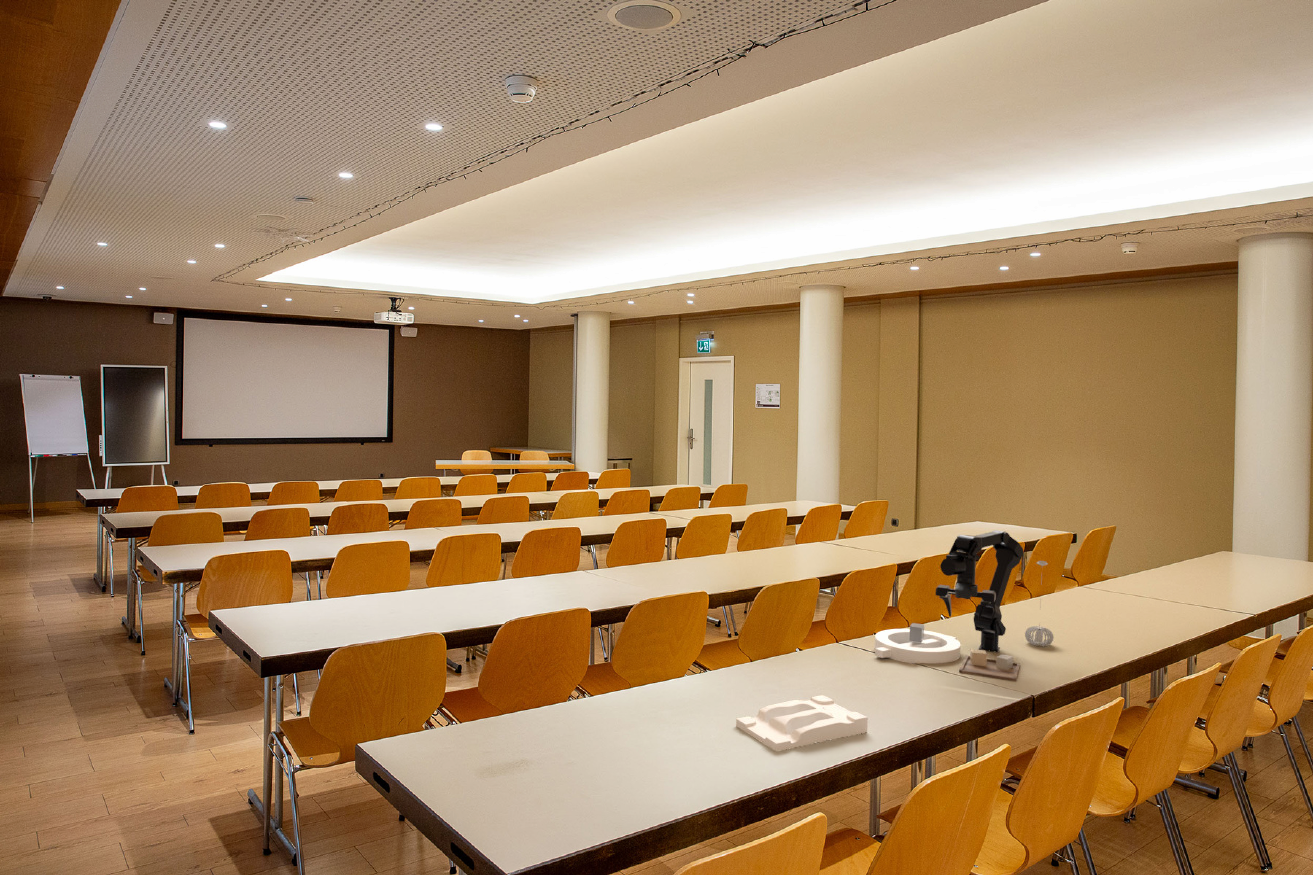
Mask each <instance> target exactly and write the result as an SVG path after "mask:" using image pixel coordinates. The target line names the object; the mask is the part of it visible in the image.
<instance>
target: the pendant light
mask: <svg viewBox="0 0 1313 875" xmlns="http://www.w3.org/2000/svg"><path fill="white" fill-rule="evenodd" d="M1036 564H1037V565H1039V566H1041V567H1044V566H1047V565H1048V564H1049V563H1047V561H1044V560H1038V561H1037V562H1036ZM1042 575H1043V574H1041V580H1040V582H1041V583H1040V584H1042V579H1043V576H1042ZM1039 602H1040V603H1039V609H1041V605H1042V604H1041V602H1042V599H1040V601H1039ZM1034 633H1035V635H1034ZM1024 637H1025V639H1026V641H1027V642H1028V643H1029V644H1031V645H1033V646H1036V647H1047V646H1049V645H1051V644H1052V643H1053V641H1054V634H1053V632H1052V631H1051V630H1050V629H1049V628H1047V627H1043V626H1041V623H1039V626H1037V625H1034V626H1030V627H1028V628H1027V629H1025V632H1024ZM1043 639H1044V640H1043Z"/></svg>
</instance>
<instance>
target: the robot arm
mask: <svg viewBox="0 0 1313 875" xmlns="http://www.w3.org/2000/svg"><path fill="white" fill-rule="evenodd" d="M990 546H992V547H993V549H994V550H995V551H996V552H995V555H994V556H995V559H996V563H997V565H996V567H995V571H994V575H993V576H992V581H991V584H990V587H989V589H988V590H987V589H983V590H982V592H981V591H979V590H978V589H979V588H978V584H976V563H977V560H979V559H980V556H979V555H978V553H981V551H982V549H984V548H987V547H990ZM1024 554H1025V552H1024V548H1023V547H1022V545H1021V544H1020V543H1019V541H1017V540H1016V539H1015V538H1013V537H1011V535H1010V534H1009V532H1007V531H1003V530H999V529H998V530H997V529H996V530H993V531H990V532H984V533H981V534H976V535H968V534H959V535H957V536H956V538H955V539H954V541H953V544H952V546H951V547H950V550H949V552H948V554H946V555H945V558H944V559H943V560H942V561H941V563H940V564H939V565H940V566H939V567H940V570H941V572H942V573H943V574H944V575H945V576H948V577H951V576H956V583H955V586H954V588H951V585H945V584H938V585H937V586H936V588H935V596H937V597H939V599H941V600H942V601H943V602H944V604H945V607H946V609H947V610H946V611H947V613H948V617H950V618H951V617H952V598H951V596H952V595H955V596H954V597H955V598H957V599H965V600H970V599H971V598H980V599H981V601H979V602H980V603H978V604H977V606H976V609H975V612H974V614H973V615H974V616H973V624H974V629H975V631H977V632H980V645H979V647H978V650H985V652H992V653H999V652H1000V649H1001V647H1000V646H999V641H1000V640H999V636H1000V637H1003V636H1004V635H1005V633H1006V630H1007V628H1006V626H1005V625H1004V624H1003V621H1002V611H1001V608H1000V607H1001V603H1002V602H1003V597H1004V595H1005V592H1006V589H1007V585H1008V583H1009V580H1010V577H1011V573H1012V570H1013V569H1014V568H1015V567H1017V565H1019V564H1020V562H1021V560H1022V559H1023V558H1022V557H1023V556H1024Z"/></svg>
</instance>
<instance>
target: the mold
mask: <svg viewBox="0 0 1313 875" xmlns="http://www.w3.org/2000/svg"><path fill="white" fill-rule="evenodd" d="M868 718H869V717H868V716H865V715H863V714H862V713H860V712H857V711H850V710H849V709H847V708H845V707H843V706H840V705H838V704H837V703H835V701H834V699H831V698H830V697H828V696H826V695H822V694H821V695H817V696H811V697H810V699H809V700H801V699H795V700H794V699H793V700H788V701H784V702H779V703H775V704H769V705H767V706H764V707H762V708H760V709H759V710H758V712H757V715H755V716H754V717H751V716H750V715H749V716H744V717H738V718H735V720H736V721H735V722H736V723H735V726H736V727H737V728H738V729H741V730H742V731H743V732H745V733H746V734H748V735H749V736H751V737H752V738H754V739H756V740H757V741H759V742H760V743H761V744H763V745H765V746H766V745H767V746H766V747H768V748H769V747H771V748H772V749H771V748H770V749H771V750H773V751H774V750H776V751H778V752H780V751H779V750H783V751H787V750H790V749H789V748H792V749H795V748H794V747H797V748H800V747H799V746H801V747H803V746H802V745H806V746H809V745H808V744H811V745H813V744H812V743H815V742H820V743H823V742H822V741H825V742H827V741H826V740H830V739H834V740H837V739H836V738H839V739H841V738H840V737H844V738H847V737H846V736H848V737H851V736H850V735H853V736H855V735H854V734H858V735H862V734H866V733H865V732H867V733H868V720H869V719H868ZM861 733H862V734H861ZM830 741H831V740H830ZM786 749H787V750H786ZM776 751H775V752H776Z"/></svg>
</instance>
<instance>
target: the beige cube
mask: <svg viewBox="0 0 1313 875" xmlns="http://www.w3.org/2000/svg"><path fill="white" fill-rule="evenodd" d="M995 660H996V668H1000V669H1004V670H1008V669H1011V668H1013V662H1014V656H1012V655H1007V654H1003V653H1002V654H999V655H998V656H996V658H995Z"/></svg>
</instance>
